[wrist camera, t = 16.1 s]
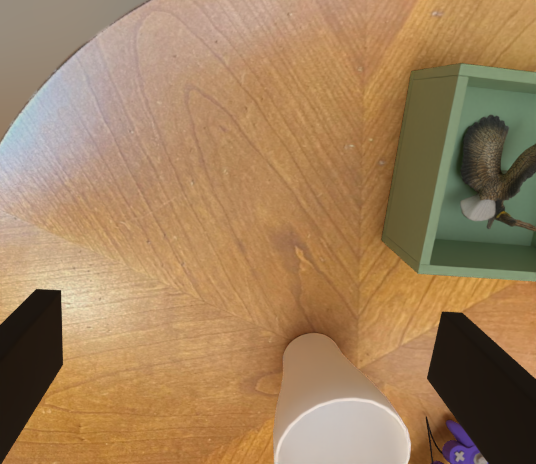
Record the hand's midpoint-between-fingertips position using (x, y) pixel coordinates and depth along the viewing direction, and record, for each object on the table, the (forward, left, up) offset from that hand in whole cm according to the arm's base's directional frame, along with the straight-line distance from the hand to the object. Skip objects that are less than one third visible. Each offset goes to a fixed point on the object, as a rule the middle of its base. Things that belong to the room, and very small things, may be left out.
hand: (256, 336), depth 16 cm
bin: (-4, +22, -27) cm, 35 cm away
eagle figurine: (-4, +23, -26) cm, 35 cm away
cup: (+17, +9, -27) cm, 33 cm away
